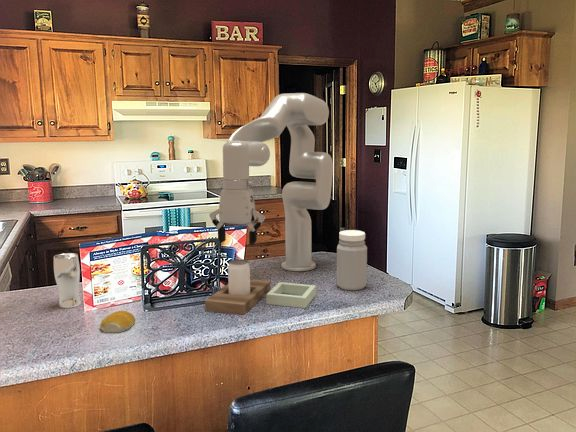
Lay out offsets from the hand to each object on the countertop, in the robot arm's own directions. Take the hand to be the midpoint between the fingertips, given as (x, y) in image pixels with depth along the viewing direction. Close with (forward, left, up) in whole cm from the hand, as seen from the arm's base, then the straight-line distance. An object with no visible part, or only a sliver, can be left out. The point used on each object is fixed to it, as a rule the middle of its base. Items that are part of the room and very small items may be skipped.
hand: (237, 242), depth 152 cm
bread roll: (+28, -23, -18) cm, 40 cm away
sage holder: (-5, +15, -18) cm, 24 cm away
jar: (-22, +30, -18) cm, 42 cm away
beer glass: (+18, -47, -18) cm, 53 cm away
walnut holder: (0, 0, -18) cm, 18 cm away
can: (0, 0, -18) cm, 18 cm away
